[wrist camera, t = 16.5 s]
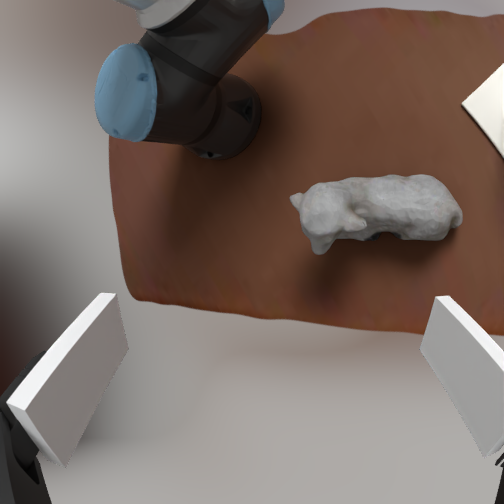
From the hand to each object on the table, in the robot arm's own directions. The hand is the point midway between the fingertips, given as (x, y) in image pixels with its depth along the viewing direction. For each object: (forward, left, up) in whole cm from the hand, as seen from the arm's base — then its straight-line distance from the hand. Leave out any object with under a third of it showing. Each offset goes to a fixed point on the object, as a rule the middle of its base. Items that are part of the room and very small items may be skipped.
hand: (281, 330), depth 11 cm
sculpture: (0, +3, -34) cm, 34 cm away
